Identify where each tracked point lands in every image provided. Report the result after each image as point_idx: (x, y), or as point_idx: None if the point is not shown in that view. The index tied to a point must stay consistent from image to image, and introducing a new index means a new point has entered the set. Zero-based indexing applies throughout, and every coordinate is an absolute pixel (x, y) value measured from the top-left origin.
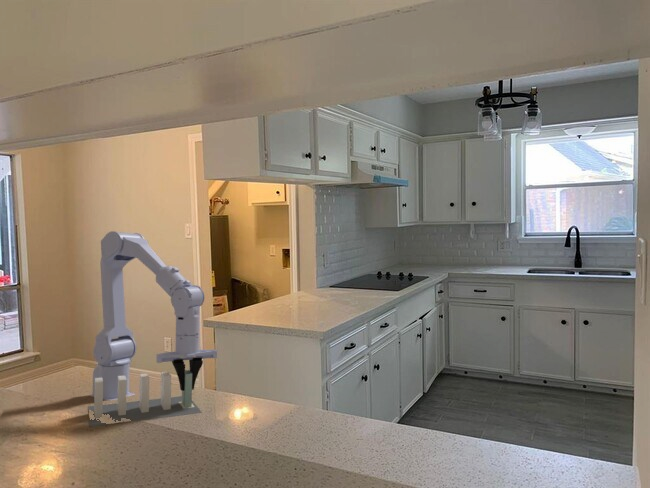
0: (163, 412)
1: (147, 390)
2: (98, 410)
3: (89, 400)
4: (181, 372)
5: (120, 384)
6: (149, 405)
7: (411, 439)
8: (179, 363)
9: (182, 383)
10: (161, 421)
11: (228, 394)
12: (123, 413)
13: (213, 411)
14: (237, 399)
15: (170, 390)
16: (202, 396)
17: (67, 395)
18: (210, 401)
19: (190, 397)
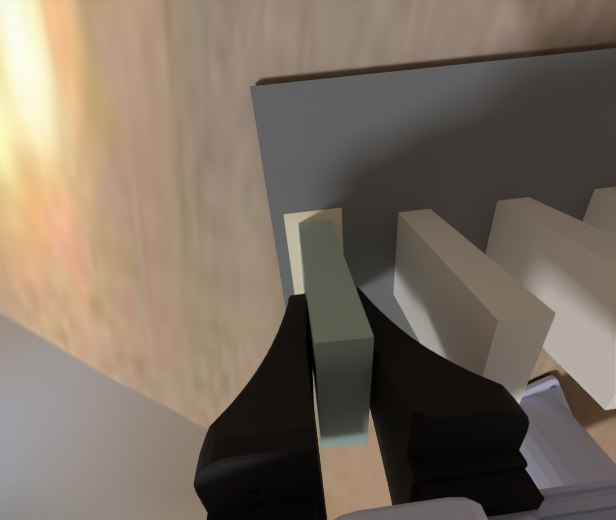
0: (442, 166)
1: (594, 245)
2: None
3: (584, 403)
4: (411, 357)
5: None
6: None
7: None
8: (469, 445)
9: (369, 307)
10: (476, 44)
11: (133, 379)
12: (611, 189)
13: (186, 143)
14: (78, 309)
15: (442, 255)
16: (240, 376)
17: (607, 448)
18: (207, 310)
19: (308, 244)
